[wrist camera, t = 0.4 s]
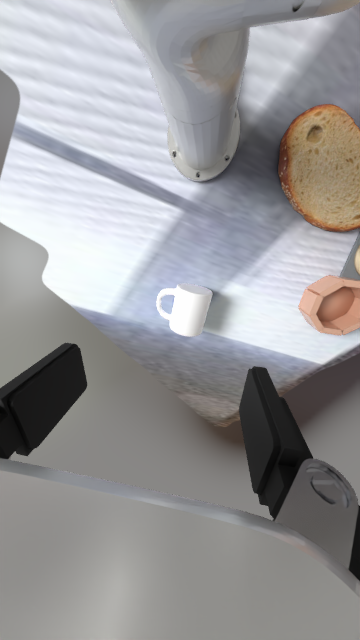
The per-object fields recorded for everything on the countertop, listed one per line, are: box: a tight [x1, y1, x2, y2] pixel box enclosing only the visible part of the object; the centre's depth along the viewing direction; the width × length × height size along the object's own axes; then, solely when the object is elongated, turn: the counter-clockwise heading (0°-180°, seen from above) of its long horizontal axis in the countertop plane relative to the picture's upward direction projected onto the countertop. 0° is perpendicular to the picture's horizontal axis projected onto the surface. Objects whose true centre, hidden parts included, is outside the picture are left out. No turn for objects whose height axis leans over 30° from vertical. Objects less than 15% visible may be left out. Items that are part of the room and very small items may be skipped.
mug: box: [157, 283, 213, 337], centre depth 42 cm, size 12×10×8 cm
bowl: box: [298, 275, 360, 335], centre depth 38 cm, size 11×11×5 cm
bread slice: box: [278, 104, 360, 232], centre depth 30 cm, size 18×18×4 cm
